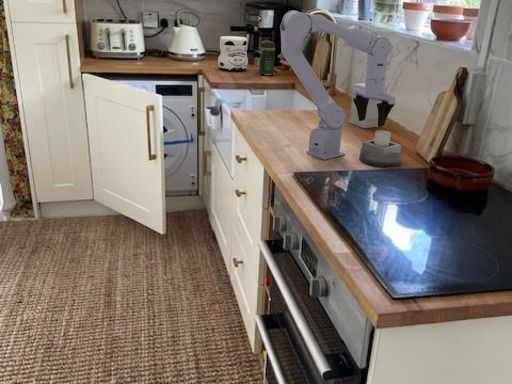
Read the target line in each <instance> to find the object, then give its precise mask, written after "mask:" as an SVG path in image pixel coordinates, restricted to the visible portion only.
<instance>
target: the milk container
mask: <svg viewBox="0 0 512 384" xmlns="http://www.w3.org/2000/svg"><path fill="white" fill-rule="evenodd" d="M247 51H248V38H247V37H245V36H235V35H224V36H222V35H221V36H220V37H219V53H218V58H217V64H218V65H217V66H218V67H219V68H220V69H221V68H222V69H221V70H224V69H231V70H240V71H244V70H246V69H247V68H248V65H249V59H248V53H247Z"/></svg>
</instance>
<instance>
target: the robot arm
mask: <svg viewBox="0 0 512 384" xmlns="http://www.w3.org/2000/svg"><path fill="white" fill-rule="evenodd" d="M363 27H364V26H363V25H361V24H356V25H355V24H352V25H351V26H348V27H346V26H343V25H341V24H338V23H336V22H335V21H332V20H329V19H327V18H324V17H322V16H320V15H316V14H311V13H307V12H301V11H299V10H294V9H293V10H288V11H287V12H285V14H284V15H283V17H282V20H281V23H280V26H279V28H280V43H281V44H280V48H281V49H280V50H281V53H282V55H283V57H284V58H285V60H286V61H287V64H289V66H290V68H291V69H292V70H293V71H294V74H295V75H296V76H297V78H298V80H299V81H300V83H301V84H302V85H303V87H304V88H305V90H306V92H307V93H308V95H309V96H310V98H311V99H312V100H313V102H314V104H315V106H316V108H317V115H318V116H319V118H320V119H319V121H318V125H317V127H316V128H313V129H312V130H311V132H310V134H309V141H308V150H306V153H307V154H308V155H311V156H314V157H316V158H319V159H321V160H326V161H327V160H329V159H333V158H336V157H341V156H345V155H346V152H343V151H342V150H341V141H342V135H343V133H342V132H343V126H344V124H345V122H346V120H347V114H346V111H345V110H344V109H343V108H342V107H340V106H339V105H337V103H336V102H335V100H333V98H332V97H331V95H330V94H329V93H328V91H327V89H326V88H325V86H324V85H323V84H322V82H321V80H320V79H319V77H318V76H317V74H316V73H315V71H314V69H313V68H312V66H311V65H310V63H309V62H308V60H307V58H306V56H305V55H304V54H303V52H302V51H301V50H302V46H303V42H304V39H306V36H308V33H311V34H312V33H316V32H318V31H319V32H320V31H321V32H323V33H325V34H329V35H332V36H335V37H337V38H341V39H342V40H343V42H344V45H346V46H348V47H350V48H353V49H355V50H358V51H360V52H363V53H367V60H366V69H365V70H366V71H365V81H364V83H365V90H363V89H354V88H353V89H354V94H353V93H352V97H353V96H356V98H353V102H354V103H355V106H356V109H357V112H358V118H359V121H363V120H365V118H366V110H367V105H368V102H369V99H373V100H377V101H381V102H382V103H378V104H377V108H378V126H379V127H384V126H385V124H386V121H387V118H388V116H389V114H390V112H391V111H392V110H393V108H394V106H395V103H396V99H397V98H396V96H394V95H391V94H388V93H387V94H386V93H385V92H384V88H385V85H386V76H387V75H386V74H387V67H388V57H389V55H390V54H391V53H392V50H393V47H392V43H391V41H390V39H389V38H388V37H385V36H382V35H379V34H378V32H377V31H376V30H373V31H370V30H367V29H364V28H363ZM340 150H341V151H340Z"/></svg>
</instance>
